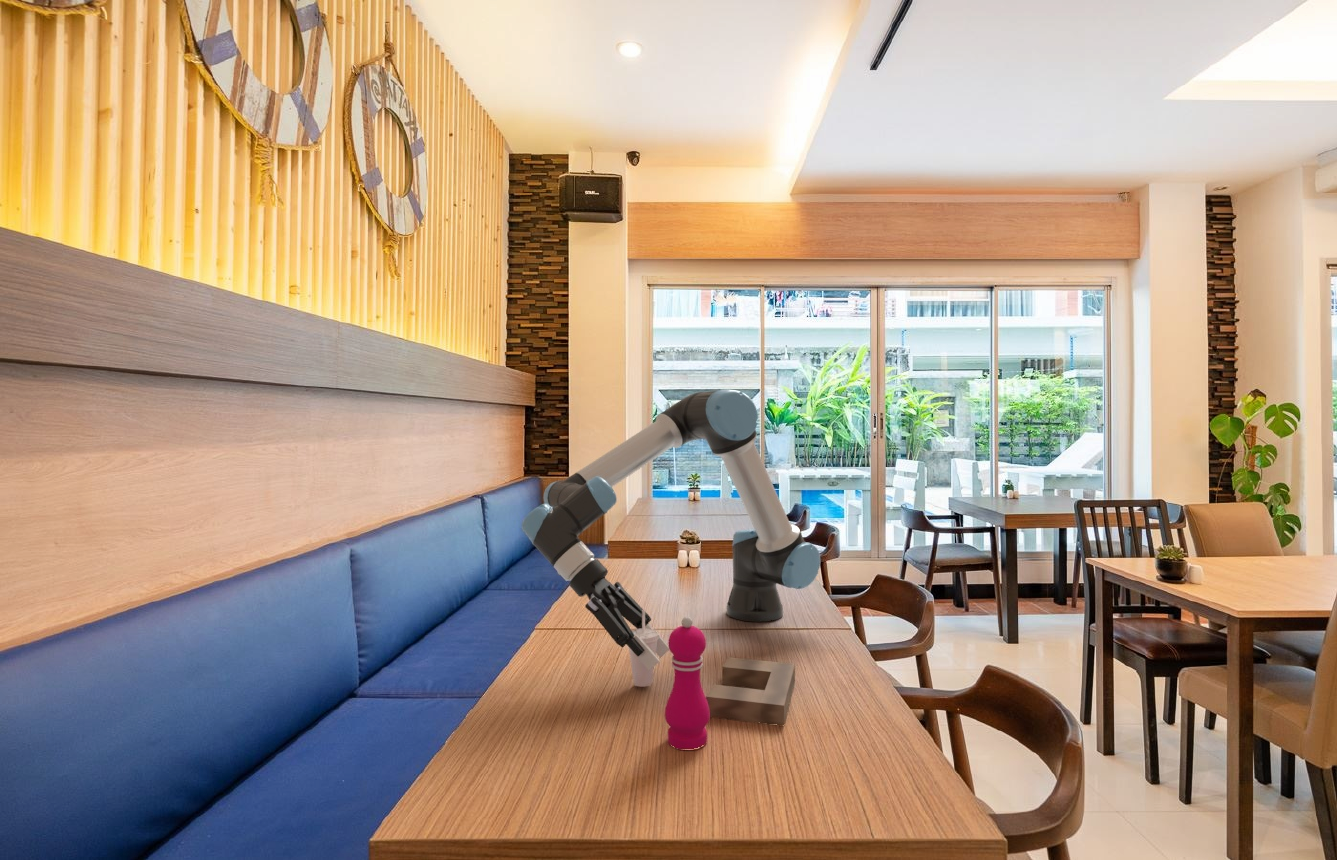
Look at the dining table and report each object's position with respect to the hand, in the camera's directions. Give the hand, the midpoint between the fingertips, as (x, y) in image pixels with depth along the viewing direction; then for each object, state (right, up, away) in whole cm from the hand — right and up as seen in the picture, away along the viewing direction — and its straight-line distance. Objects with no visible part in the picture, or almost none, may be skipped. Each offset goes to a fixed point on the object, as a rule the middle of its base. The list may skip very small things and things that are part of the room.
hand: (660, 659), depth 123 cm
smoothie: (-3, -5, +1) cm, 6 cm away
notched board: (+17, -6, -4) cm, 19 cm away
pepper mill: (+5, -6, -21) cm, 22 cm away
